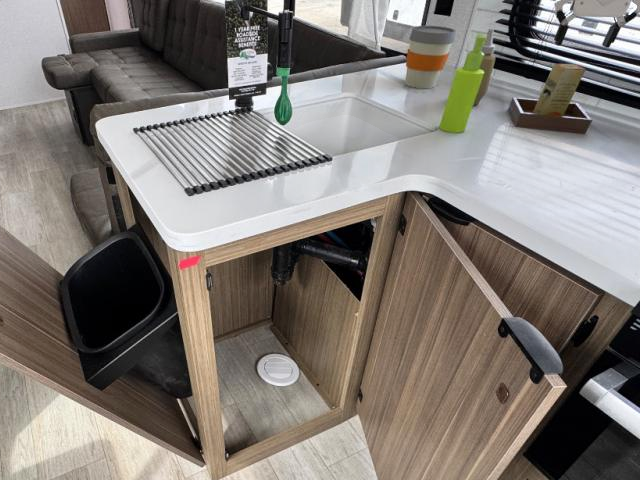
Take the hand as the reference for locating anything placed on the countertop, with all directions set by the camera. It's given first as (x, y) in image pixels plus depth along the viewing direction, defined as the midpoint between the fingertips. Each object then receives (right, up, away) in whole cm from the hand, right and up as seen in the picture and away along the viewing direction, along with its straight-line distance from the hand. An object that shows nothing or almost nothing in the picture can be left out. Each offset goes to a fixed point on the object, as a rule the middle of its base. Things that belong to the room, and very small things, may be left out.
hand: (581, 45), depth 100 cm
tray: (0, -13, +12) cm, 17 cm away
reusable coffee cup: (-22, +9, +37) cm, 44 cm away
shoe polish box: (0, -12, +11) cm, 17 cm away
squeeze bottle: (-15, -3, +23) cm, 27 cm away
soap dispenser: (-26, -16, +8) cm, 32 cm away
